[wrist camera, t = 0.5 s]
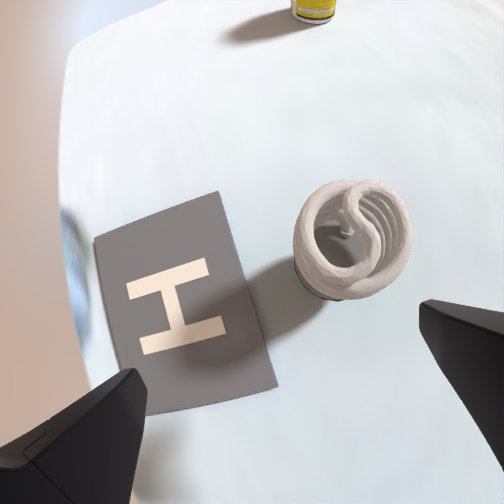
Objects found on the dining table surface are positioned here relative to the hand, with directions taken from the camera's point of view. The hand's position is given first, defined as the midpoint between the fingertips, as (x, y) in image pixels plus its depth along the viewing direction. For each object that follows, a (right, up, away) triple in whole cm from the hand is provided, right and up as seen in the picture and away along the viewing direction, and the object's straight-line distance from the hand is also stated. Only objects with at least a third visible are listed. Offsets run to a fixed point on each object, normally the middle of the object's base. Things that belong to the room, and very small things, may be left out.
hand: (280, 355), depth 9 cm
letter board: (-7, -1, +15) cm, 17 cm away
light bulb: (+5, +2, +15) cm, 16 cm away
